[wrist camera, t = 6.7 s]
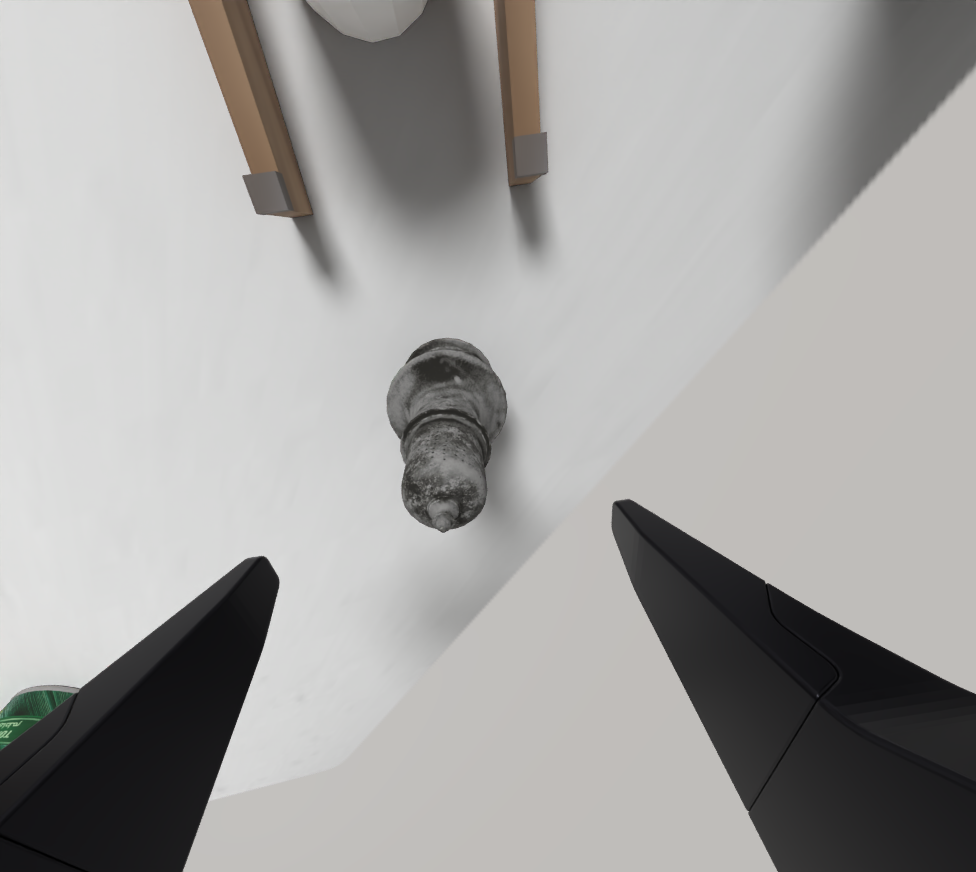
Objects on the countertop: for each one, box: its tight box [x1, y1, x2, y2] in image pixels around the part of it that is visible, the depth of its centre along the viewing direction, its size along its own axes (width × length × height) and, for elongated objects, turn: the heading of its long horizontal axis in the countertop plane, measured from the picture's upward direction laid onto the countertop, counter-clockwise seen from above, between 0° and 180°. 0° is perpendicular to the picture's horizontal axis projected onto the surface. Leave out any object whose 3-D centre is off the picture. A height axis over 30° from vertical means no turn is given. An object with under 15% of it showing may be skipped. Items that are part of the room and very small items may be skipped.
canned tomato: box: [0, 685, 80, 750], centre depth 28 cm, size 8×8×11 cm
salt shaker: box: [387, 338, 507, 533], centre depth 16 cm, size 6×6×12 cm
